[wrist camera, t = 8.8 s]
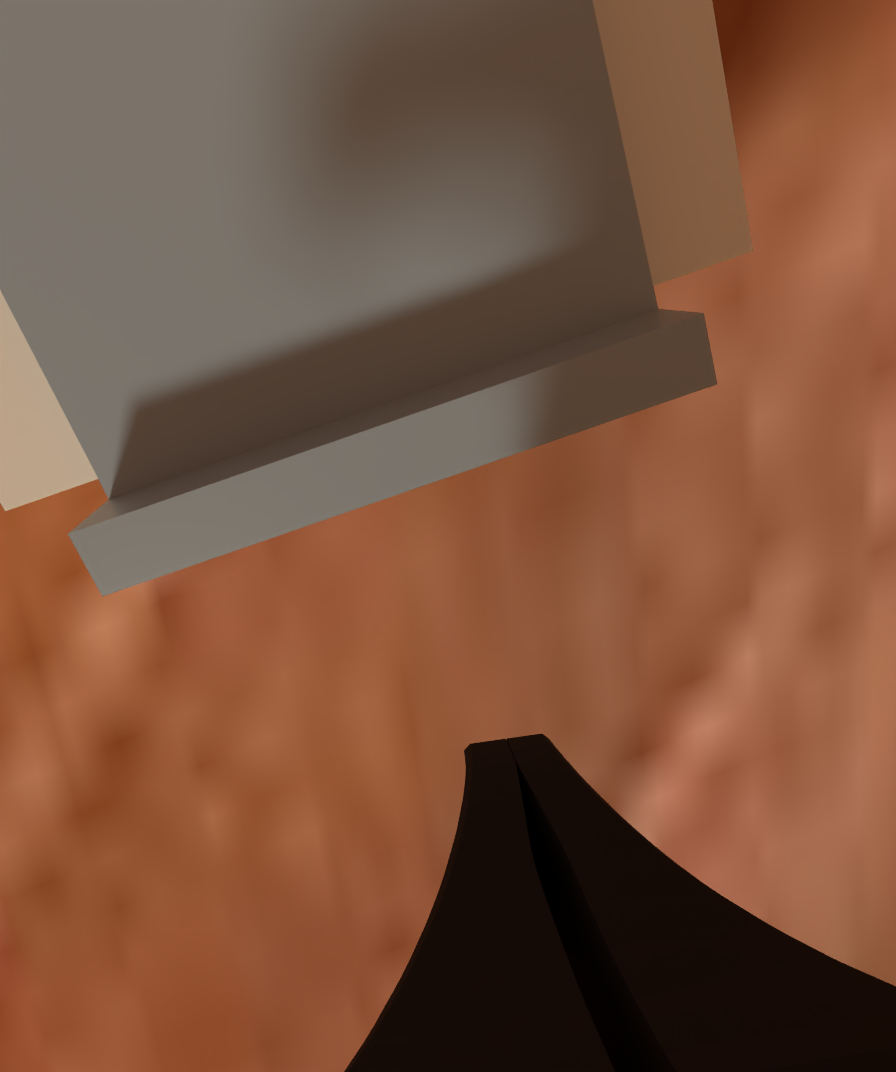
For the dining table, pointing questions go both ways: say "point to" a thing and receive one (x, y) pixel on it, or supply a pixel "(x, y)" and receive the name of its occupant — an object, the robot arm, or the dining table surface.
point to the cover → (317, 254)
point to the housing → (656, 176)
